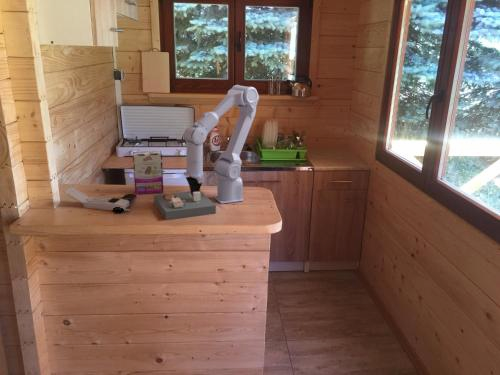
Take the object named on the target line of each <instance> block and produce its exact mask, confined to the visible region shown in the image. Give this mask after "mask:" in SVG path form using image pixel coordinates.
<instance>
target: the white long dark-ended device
mask: <svg viewBox="0 0 500 375" xmlns="http://www.w3.org/2000/svg"><path fill="white" fill-rule="evenodd" d="M62 192H63V193H65V194H67V195H68V196H69V197H71V198H73V199H74V200H76V201H77V202H79V203H81V204H82V205H83V208H85V209H92V210H93V209H95V210H101V211H102V210H103V211H111V210H113V208H115V207H120V208H123V209H124V211H123V212H130V211H131V209H130V208H128V207H130V201H129V200H128V199H122V198H119V197H117V198H116V197H112V198H108V197H95V196H88V194H86V193H84V192H82V191H81V190H79V189H78V188H76V187H74V186H70V187H68V188H66V189H64V190H63V191H62Z"/></svg>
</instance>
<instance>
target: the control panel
mask: <svg viewBox="0 0 500 375" xmlns="http://www.w3.org/2000/svg"><path fill="white" fill-rule="evenodd" d="M199 192H200V193H201V201H193V197H192V195H191V191H190V190H189V191H182V192H181V191H179V192H171V193H169V194H173V195H175V198H177V197H179V198H180V199H181V201H182V203H183V207H176V208H175V207H174V205H173V204H172V201H171V199H167V200H165V195H166V194H167V193H159V194H154V195H153V203H154V205H155V206H156V208H157V209H158V210H159V212H160V213H161V215H162V217H163V218H164V219H165V220H166V221H169V220H176V219H184V218H191V217H198V216H208V215H214V214H216V213H217V205H216V204H215V203H214V201H212V200H211V199H210V198H208V197H207V196H206V195H205V194H204V192H202V191H201V190H200V191H199Z"/></svg>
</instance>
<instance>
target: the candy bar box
mask: <svg viewBox="0 0 500 375" xmlns="http://www.w3.org/2000/svg"><path fill="white" fill-rule="evenodd" d="M132 163H133V164H132V165H133V179H134V180H133V182H134V194H135V195H149V194H150V195H151V194H164V179H163V178H164V174H163V173H164V172H163V171H164V170H163V154H162V151H161V150H156V151H155V150H154V151H149V150H148V151H133V152H132Z"/></svg>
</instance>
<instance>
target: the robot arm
mask: <svg viewBox="0 0 500 375" xmlns="http://www.w3.org/2000/svg"><path fill="white" fill-rule="evenodd" d="M259 100H260V96H259V93H258V91H257V89H256V88H255V87H253V86H245V85H240V84H235V85H233V86H232V87H231V88H230V89H229V90H228V91H227V94H226V95H225V96H224V98H222V99H221V101H220V102H219V103H218V104H217V105H216V106H215V108H213V109H212V111H205V112H203V113H202V114H201V115H202V116H201V117H200V118H199V119H198V120H197V121H195V122H194V123H192V125H190V126H188V127H187V128H185V130H184V133H183V134H182V137H183V139H184V141H185V145H186V167H185V169H186V170H185V171H184V172H183V176H186V177H185V180H186V181H187V184H188V186H189V191H191V195H192V197H193V192H198V191H201V187H202V184H204V183H205V177H204V171H203V170H204V169H203V168H204V166H203V165H204V144H203V143H205V141H206V140H207V137H208V134H209V133H210V132H211V131H212V130H213V129H214V128H215V127H217V125H218V124H219V119H220V118H221V117H222V116H223V115H224V114H226V113H227V112H228V111H229V110H230V109H232V108H233V107H234V106H236V107H237V108H238V111H239V115H238V119H237V121H236V124H235V126H234V128H233V131H232V134H231V136H230V139H229V140H228V141H229V142H228V144H227V147H226V150H225V151H224V152H222V153H221V154H220V155H219V157H218V159H217V160H216V161H215V162H214V164H213V171H214V172H215V174H216V177H217V191H216V192H217V194H216V195H214V196H213V199H215V200H216V201H217V202H218V203H219V204H221V205H222V204H229V203H231V204H232V203H237V202H243V201H244V199H243V194H244V193H243V191H244V190H243V188H244V185H243V179H242V177H240V174H241V167H242V164H243V161H242V159H241V157H240V155H241V153H242V150H243V147H244V145H245V142H246V140H247V137H248V135H249V132H250V129H251V127H252V124H253V121H254V119H255V116H256V112H257V104H258V102H259Z"/></svg>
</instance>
